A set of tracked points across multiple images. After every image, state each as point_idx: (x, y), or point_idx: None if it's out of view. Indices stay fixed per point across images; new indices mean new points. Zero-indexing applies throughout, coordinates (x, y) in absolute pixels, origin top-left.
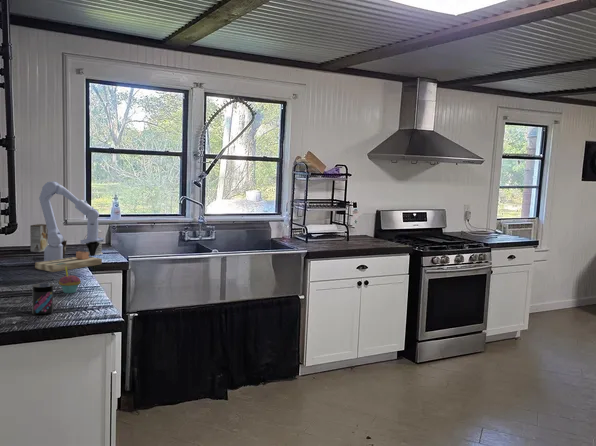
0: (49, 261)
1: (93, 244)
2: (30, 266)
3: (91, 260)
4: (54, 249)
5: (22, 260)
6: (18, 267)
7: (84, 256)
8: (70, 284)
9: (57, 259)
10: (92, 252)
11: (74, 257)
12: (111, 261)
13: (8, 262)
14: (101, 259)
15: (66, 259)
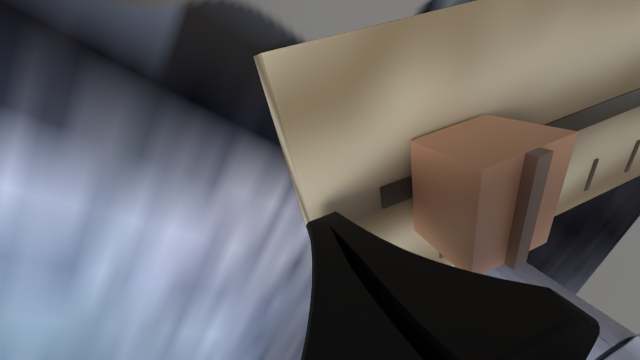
0: (633, 158)
1: (562, 316)
2: (594, 206)
3: (442, 9)
4: (612, 319)
5: None
6: (626, 201)
7: (489, 129)
8: None
9: None
10: (365, 235)
11: (442, 260)
12: (49, 192)
13: None
14: (266, 52)
15: None
